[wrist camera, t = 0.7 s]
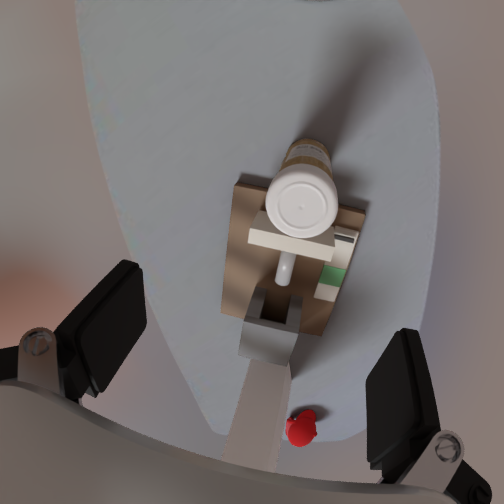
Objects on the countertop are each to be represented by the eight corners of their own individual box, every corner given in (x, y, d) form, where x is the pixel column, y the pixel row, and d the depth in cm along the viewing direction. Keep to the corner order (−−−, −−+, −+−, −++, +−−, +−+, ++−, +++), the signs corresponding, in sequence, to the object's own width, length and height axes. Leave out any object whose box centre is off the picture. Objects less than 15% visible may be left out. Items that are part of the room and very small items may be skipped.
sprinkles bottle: (278, 168, 31) (252, 220, 19) (298, 129, 28) (283, 157, 17) (318, 188, 31) (315, 252, 19) (339, 151, 28) (352, 194, 17)
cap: (311, 442, 52) (323, 447, 47) (283, 445, 51) (293, 451, 46) (310, 406, 56) (322, 408, 50) (282, 409, 54) (292, 412, 49)
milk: (257, 378, 49) (223, 496, 30) (251, 356, 46) (210, 484, 27) (292, 380, 47) (268, 503, 29) (289, 357, 44) (261, 493, 26)
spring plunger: (258, 210, 32) (249, 228, 28) (355, 232, 31) (359, 253, 27) (250, 262, 35) (241, 284, 31) (338, 282, 34) (339, 306, 30)
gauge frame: (237, 182, 32) (214, 208, 26) (364, 210, 31) (374, 244, 24) (222, 307, 42) (205, 346, 35) (321, 330, 40) (318, 373, 34)
